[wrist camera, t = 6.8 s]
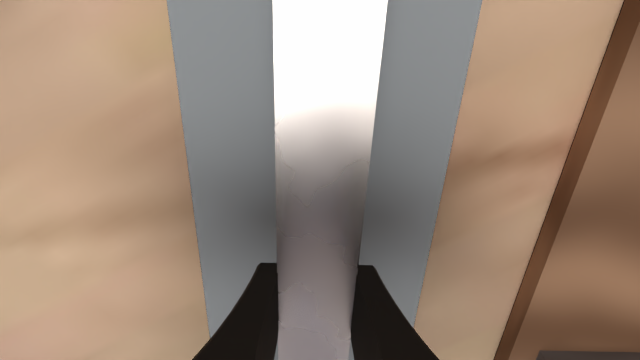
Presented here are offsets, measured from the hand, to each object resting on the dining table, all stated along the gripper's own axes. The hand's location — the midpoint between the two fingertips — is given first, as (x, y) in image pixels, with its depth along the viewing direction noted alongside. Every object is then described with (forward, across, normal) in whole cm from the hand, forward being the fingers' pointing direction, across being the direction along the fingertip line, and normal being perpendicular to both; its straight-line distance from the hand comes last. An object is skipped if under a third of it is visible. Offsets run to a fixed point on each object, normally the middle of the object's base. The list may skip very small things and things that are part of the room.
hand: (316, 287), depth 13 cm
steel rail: (+2, 0, 0) cm, 2 cm away
